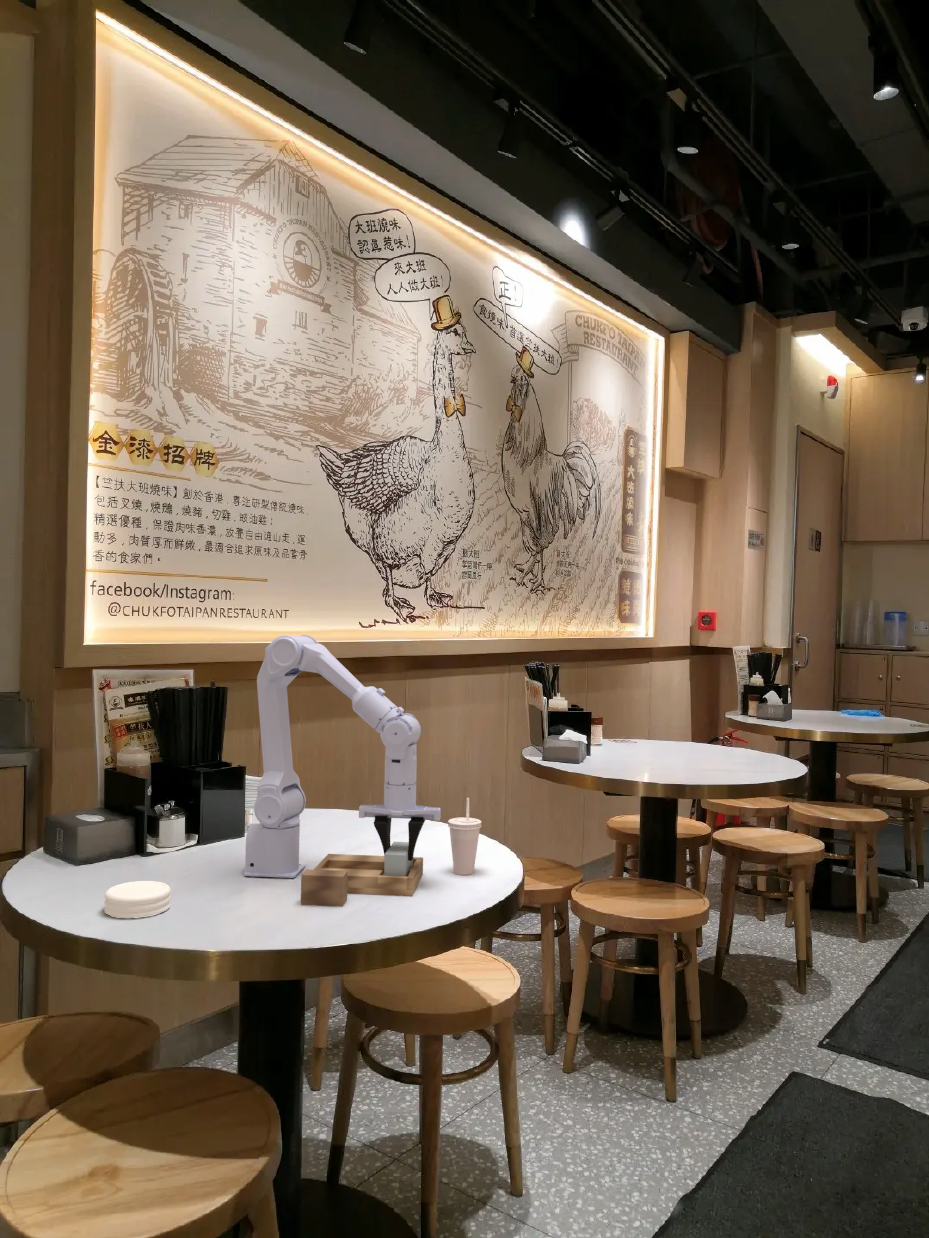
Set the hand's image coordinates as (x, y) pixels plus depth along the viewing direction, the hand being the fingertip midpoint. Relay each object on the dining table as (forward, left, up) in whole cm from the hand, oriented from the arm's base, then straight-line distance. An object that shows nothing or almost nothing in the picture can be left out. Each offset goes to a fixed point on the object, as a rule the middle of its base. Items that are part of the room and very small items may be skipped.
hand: (398, 858), depth 158 cm
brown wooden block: (-10, -13, -4) cm, 17 cm away
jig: (-5, 0, -4) cm, 7 cm away
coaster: (-39, -20, -5) cm, 44 cm away
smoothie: (+11, +9, -5) cm, 15 cm away
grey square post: (0, 0, -2) cm, 2 cm away
